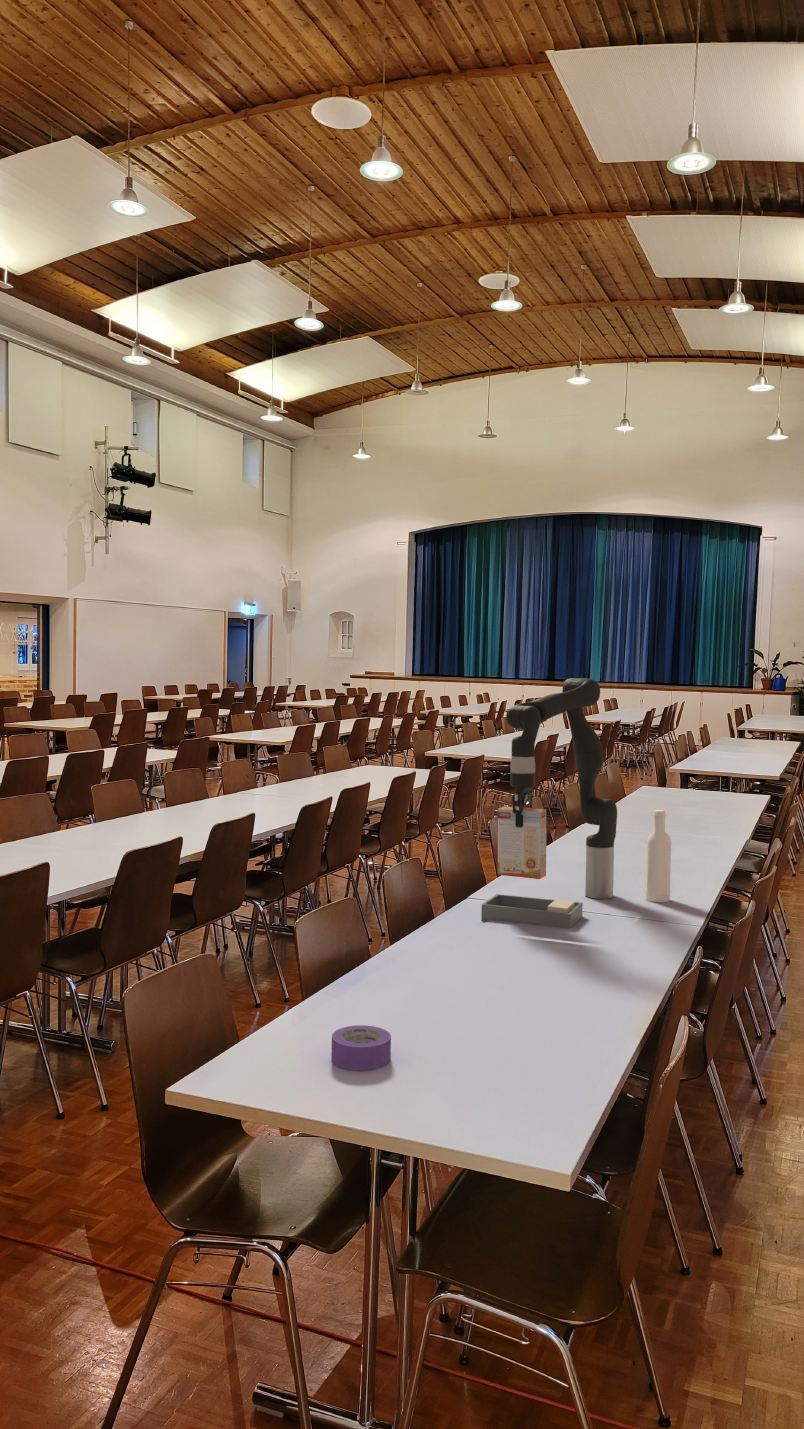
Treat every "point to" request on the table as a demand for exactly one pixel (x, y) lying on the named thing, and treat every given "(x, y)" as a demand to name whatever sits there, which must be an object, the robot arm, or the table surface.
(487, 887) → the table surface
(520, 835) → the cracker box
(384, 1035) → the tape roll
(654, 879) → the bottle
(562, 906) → the beige block
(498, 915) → the tote
